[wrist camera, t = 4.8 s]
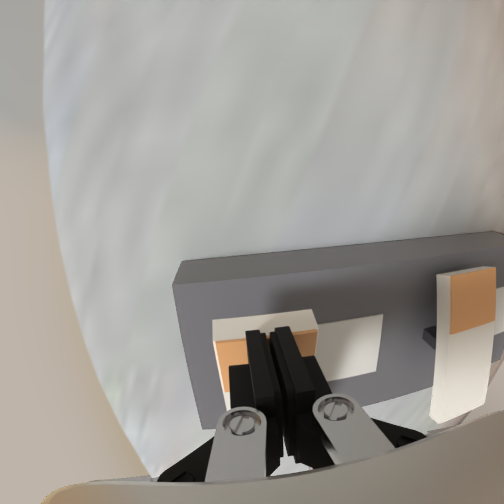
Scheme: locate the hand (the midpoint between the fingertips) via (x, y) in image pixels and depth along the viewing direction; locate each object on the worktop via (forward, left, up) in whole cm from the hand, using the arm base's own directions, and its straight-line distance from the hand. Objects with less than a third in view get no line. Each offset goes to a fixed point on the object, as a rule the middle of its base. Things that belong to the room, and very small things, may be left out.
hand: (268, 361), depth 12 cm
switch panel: (+3, +8, -8) cm, 12 cm away
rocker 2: (+3, +12, -2) cm, 13 cm away
